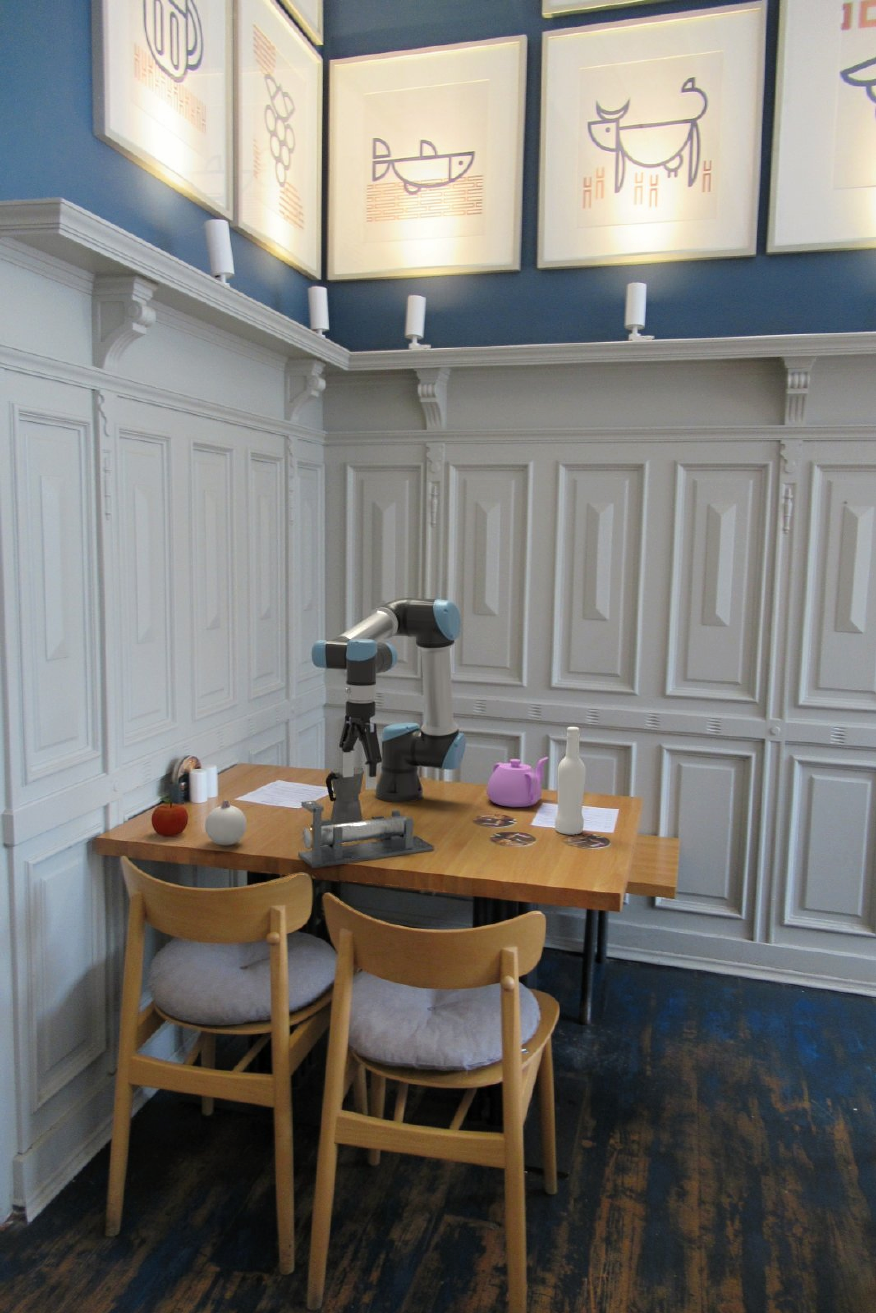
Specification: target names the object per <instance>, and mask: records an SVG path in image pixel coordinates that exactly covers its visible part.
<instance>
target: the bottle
mask: <svg viewBox="0 0 876 1313" xmlns="http://www.w3.org/2000/svg"><path fill="white" fill-rule="evenodd" d="M566 731H567V732H566V747H565V756H564V757H563V758H562V759H561V761H560V762H559V764H558V768H557V813H556V815H555V816H554V829H555V830H556V832H557V833H559V834H562V835H563V834H564V835H569V836H572V835H575V834H576V835H578V834H581V833H582V832H583V829H584V823H585V819H584V817H583V803H584V794H585V792H584V791H585V784H586V783H585V782H586V777H587V775H586V774H587V771H586V765H585V763H584V762H583V760H582V759H581V758H580V737H581V733H580V732H581V730H580V728H579V727H577V726H568V727H567V729H566Z"/></svg>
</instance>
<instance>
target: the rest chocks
mask: <svg viewBox="0 0 876 1313" xmlns="http://www.w3.org/2000/svg"><path fill="white" fill-rule="evenodd" d="M382 818H385V817H384V815H377V816H372V818H371V820H374V819H382ZM321 826H322V822H321ZM310 827H313V823H312V824H310ZM390 839H391V837H386V838H379V839H378V840H379V841H383V840H390Z"/></svg>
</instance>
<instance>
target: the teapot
mask: <svg viewBox="0 0 876 1313" xmlns="http://www.w3.org/2000/svg"><path fill="white" fill-rule="evenodd" d="M548 759H549V756H545V757H542V758H541V759H539V761H538V762H537V765H536V768H535V771H534V769H533V768H532V766H530V765H528V764H526V763H525V764H524V763H521V762H522V761H521V759H518V758H511V759H509V762H506V763H503V762H497V763H495V764H494V765H493V767H492V768H493V769H492V770H493V771H492V772H493V773H492V775H491V776H490V778H489V780H488V784H487V787H486V794H487V796H488V798H489V799H490V800H491V802H492V803H494V804H497V805H499V806H504V807H508V808H511V809H513V808H523V807H524V808H527V807H531V806H534V805H536V803H537V802H538V801H539V800H540V799H541V797H542V788H541V787H542V786H541V785H543V782H544V766H545V765H544V764H545V763H546V761H547V760H548Z"/></svg>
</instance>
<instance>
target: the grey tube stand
mask: <svg viewBox="0 0 876 1313" xmlns="http://www.w3.org/2000/svg"><path fill="white" fill-rule="evenodd" d="M300 805H301V807H302V808H304V809H305V810H307V811H308V812H310V813H312V824H313V843H312V848H311V850H305V851H299V852H298V853H297V854H298V855H297V857H298V858H300V859H301V860H302V859H303V860H302V861H303V862H305V863H306V864H308V866H310V867H311V868H312V869H316V868H323V867H330V866H337V865H344V864H351V863H356V862H365V861H371V860H379V859H384V858H391V857H398V856H404V855H411V854H418V853H423V852H430V851H434V850H435V846H434V845H432V844H430V843H429V842H427V841H425V840H424V839H422V838H420V837H419V836H417V835H414V817H411V816H410V817H407V818H404V835H401V836H393V837H391V839H390V840H383V841H381V840H377V841H370V842H363V843H362V842H361V843H356V844H349V845H343V844H342V831H343V828H342V827H341V826H340V827H333V845H329V846H322V847H321V823H322V826H327V825H332V823H331V818H326V819H325V818H324V819H322V816H323V814H322V812H324V811H325V810H324V809H325V808H324V806H322V804H319V803H318V802H316V801H315V800H308V801H307V800H306V801H301V804H300ZM397 816H402V815H401V810H392V811H391V817H397Z"/></svg>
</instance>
